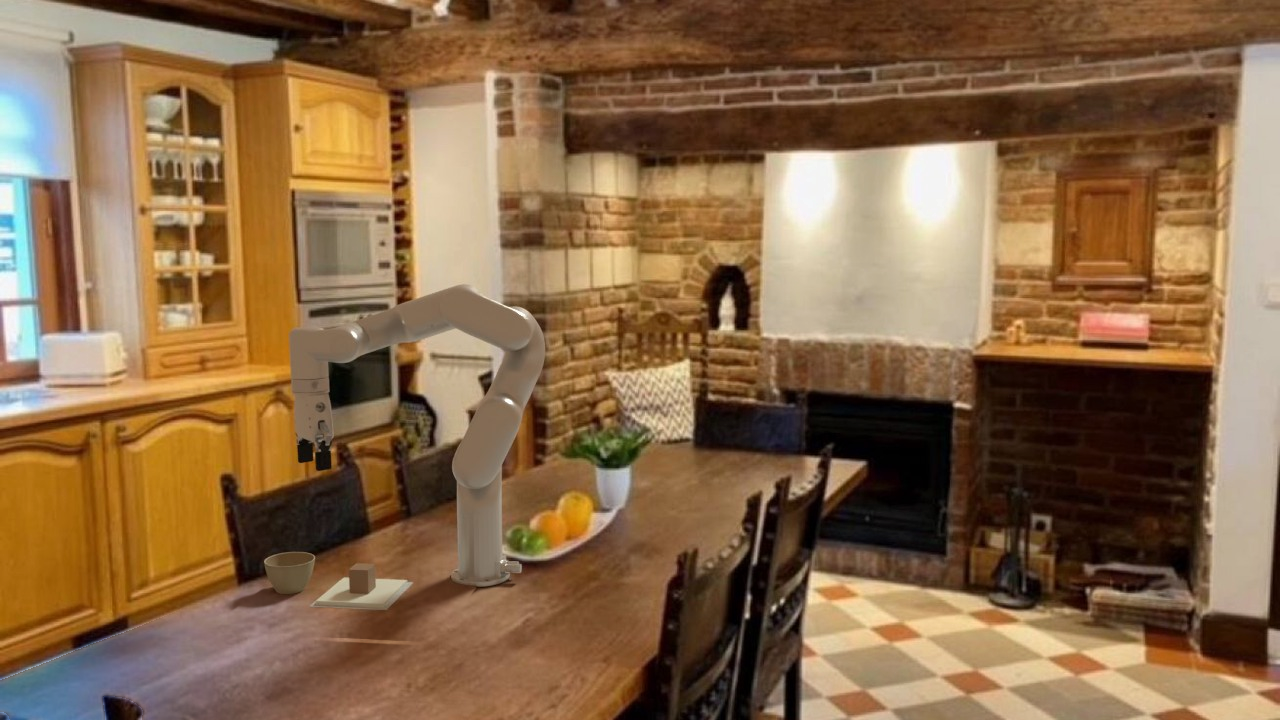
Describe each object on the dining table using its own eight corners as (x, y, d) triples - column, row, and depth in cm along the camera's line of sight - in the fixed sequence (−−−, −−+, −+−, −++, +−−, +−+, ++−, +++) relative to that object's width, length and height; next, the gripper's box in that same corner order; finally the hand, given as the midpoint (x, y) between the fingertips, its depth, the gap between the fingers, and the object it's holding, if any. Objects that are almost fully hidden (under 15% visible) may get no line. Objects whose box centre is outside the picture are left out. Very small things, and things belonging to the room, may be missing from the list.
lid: (407, 583, 215) (406, 557, 214) (383, 607, 201) (382, 579, 200) (343, 580, 216) (342, 554, 215) (315, 604, 202) (314, 576, 202)
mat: (413, 584, 216) (413, 582, 216) (386, 612, 200) (386, 609, 200) (341, 581, 217) (341, 579, 217) (309, 609, 202) (308, 606, 202)
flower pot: (300, 602, 206) (298, 568, 205) (255, 598, 208) (254, 564, 207) (325, 585, 215) (323, 553, 214) (282, 582, 217) (280, 549, 216)
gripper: (344, 388, 208) (348, 470, 210) (311, 379, 221) (316, 456, 223) (308, 392, 203) (313, 476, 205) (277, 383, 216) (282, 461, 218)
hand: (314, 465), depth 214 cm, fingers open, 9 cm apart
